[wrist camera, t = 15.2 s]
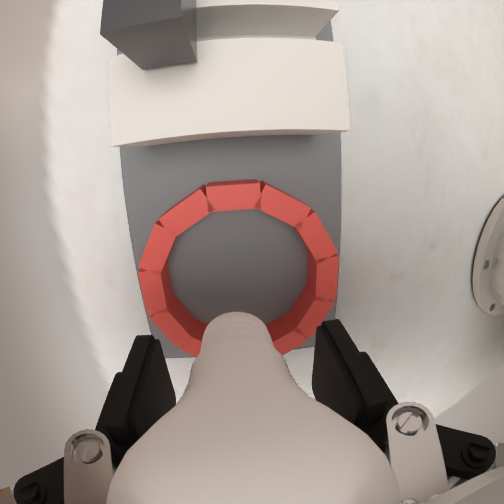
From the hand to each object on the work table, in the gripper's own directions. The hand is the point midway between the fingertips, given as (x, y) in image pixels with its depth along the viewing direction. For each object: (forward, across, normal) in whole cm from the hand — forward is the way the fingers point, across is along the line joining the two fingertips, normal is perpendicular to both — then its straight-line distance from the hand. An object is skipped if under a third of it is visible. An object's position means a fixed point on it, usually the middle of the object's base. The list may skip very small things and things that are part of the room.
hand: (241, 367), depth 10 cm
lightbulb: (+3, 0, 0) cm, 3 cm away
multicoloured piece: (+10, 0, -6) cm, 11 cm away
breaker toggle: (+6, +2, -12) cm, 14 cm away
